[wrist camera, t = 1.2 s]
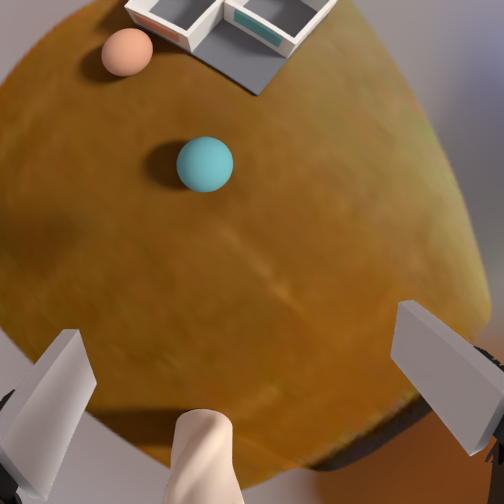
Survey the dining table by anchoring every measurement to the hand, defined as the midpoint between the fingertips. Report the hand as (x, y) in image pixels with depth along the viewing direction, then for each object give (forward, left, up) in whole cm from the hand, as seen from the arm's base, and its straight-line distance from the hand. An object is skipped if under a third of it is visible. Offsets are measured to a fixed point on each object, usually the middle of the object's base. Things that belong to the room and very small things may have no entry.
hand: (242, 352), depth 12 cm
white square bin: (-10, +22, -21) cm, 32 cm away
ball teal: (-6, +5, -18) cm, 20 cm away
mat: (-14, +20, -21) cm, 32 cm away
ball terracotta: (-19, +10, -18) cm, 28 cm away
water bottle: (+12, -24, -21) cm, 34 cm away
